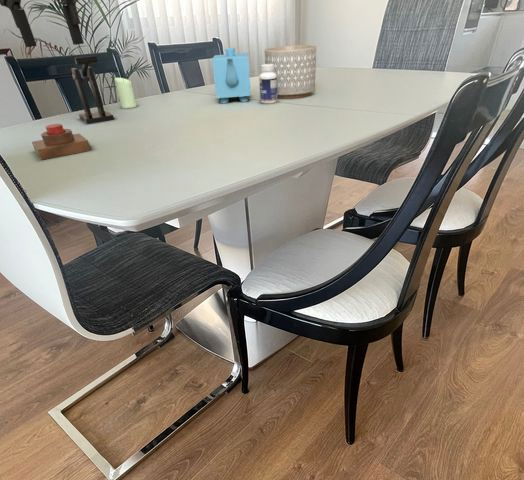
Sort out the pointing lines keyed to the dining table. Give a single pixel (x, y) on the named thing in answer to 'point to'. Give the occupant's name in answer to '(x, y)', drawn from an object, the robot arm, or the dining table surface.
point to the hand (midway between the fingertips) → (54, 45)
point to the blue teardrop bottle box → (231, 75)
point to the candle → (125, 93)
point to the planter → (293, 69)
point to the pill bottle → (268, 84)
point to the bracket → (88, 116)
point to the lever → (85, 66)
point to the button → (54, 129)
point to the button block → (60, 144)
